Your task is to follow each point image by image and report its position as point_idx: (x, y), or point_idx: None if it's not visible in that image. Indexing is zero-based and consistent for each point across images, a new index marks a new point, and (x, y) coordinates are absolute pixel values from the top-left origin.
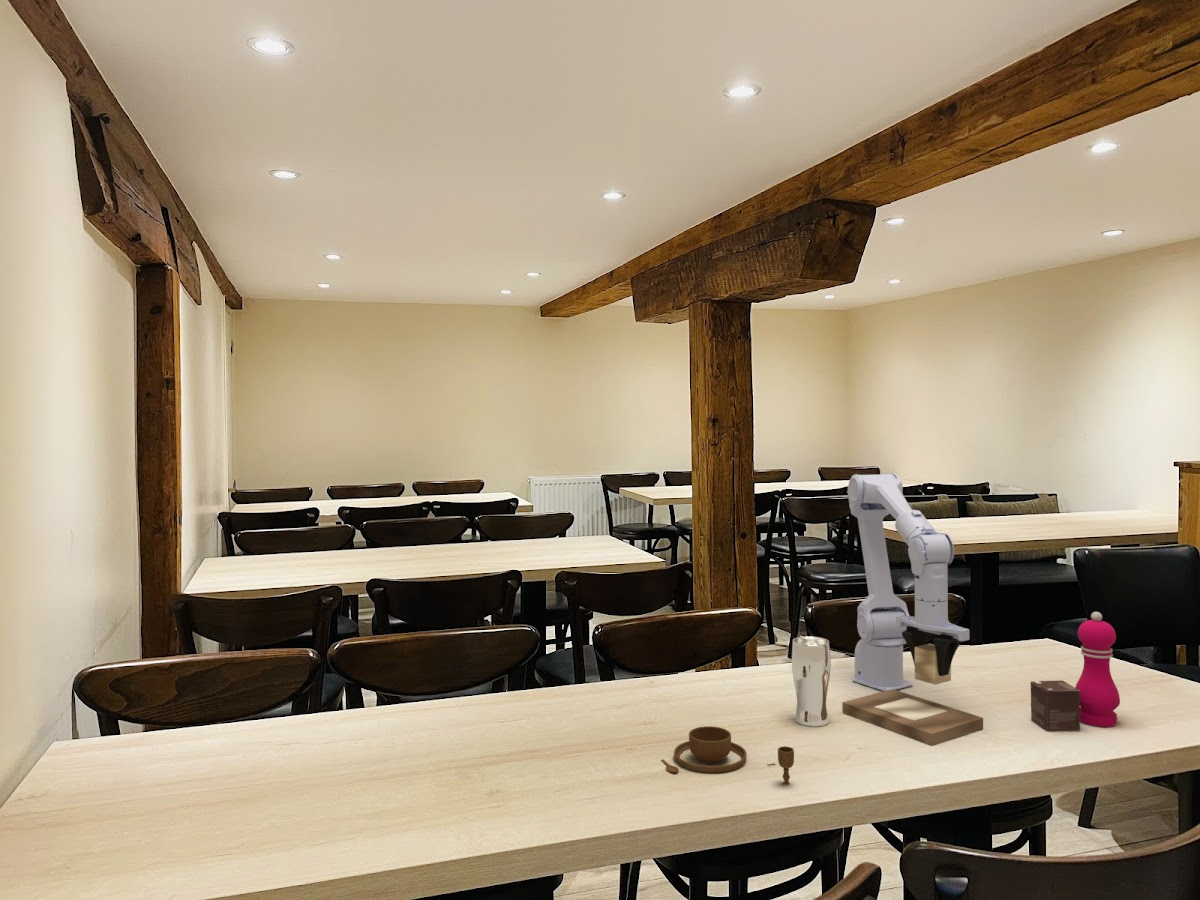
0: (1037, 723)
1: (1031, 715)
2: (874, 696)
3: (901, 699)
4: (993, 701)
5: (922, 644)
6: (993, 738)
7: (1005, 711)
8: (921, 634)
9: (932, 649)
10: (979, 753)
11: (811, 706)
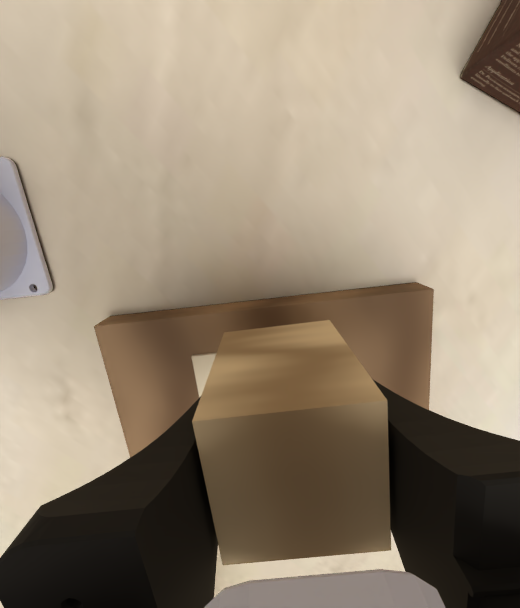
0: (500, 100)
1: (473, 71)
2: (136, 417)
3: (198, 381)
4: (264, 20)
5: (197, 492)
6: (472, 313)
7: (357, 81)
8: (179, 593)
9: (332, 522)
10: (503, 411)
11: None
